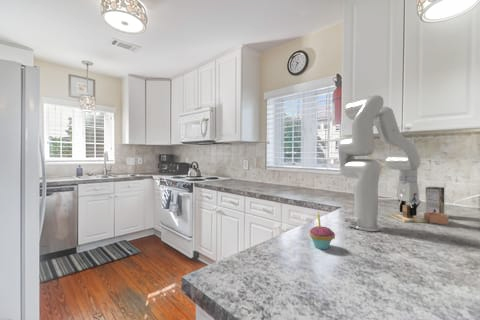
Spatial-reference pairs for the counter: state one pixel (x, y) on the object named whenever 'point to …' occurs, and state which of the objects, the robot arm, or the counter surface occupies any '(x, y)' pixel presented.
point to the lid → (407, 216)
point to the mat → (410, 222)
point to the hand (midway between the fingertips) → (407, 213)
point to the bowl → (436, 217)
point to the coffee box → (435, 199)
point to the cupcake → (321, 236)
